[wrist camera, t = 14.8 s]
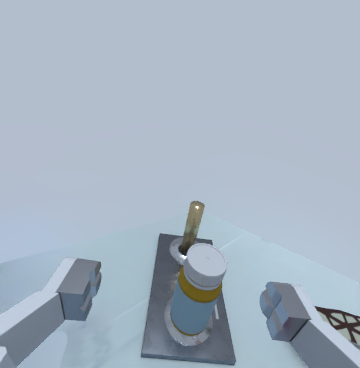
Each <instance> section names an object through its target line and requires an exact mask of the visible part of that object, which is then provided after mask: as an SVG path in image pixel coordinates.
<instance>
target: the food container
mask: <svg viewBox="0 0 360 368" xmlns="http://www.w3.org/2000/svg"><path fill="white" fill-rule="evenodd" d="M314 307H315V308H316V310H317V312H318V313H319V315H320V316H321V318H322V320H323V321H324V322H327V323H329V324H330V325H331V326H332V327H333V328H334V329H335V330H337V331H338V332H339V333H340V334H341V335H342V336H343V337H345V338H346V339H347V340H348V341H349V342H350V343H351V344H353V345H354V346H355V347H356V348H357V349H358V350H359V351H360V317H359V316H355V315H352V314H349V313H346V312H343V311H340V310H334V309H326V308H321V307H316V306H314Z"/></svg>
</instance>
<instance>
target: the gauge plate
mask: <svg viewBox="0 0 360 368" xmlns="http://www.w3.org/2000/svg"><path fill="white" fill-rule="evenodd" d="M203 210H204V204H203V203H201V202H199V201H193V202H191V204H190V209H189V213H188V218H187V222H186V226H185V231H184V235H183V236H176V235H169V234H161V233H160V235H159V242H158V249H157V255H156V262H155V269H154V275H153V282H152V288H151V295H150V302H149V308H148V315H147V322H146V328H145V335H144V341H143V348H142V355H141V357H149V358H160V359H171V360H183V361H194V362H205V363H217V364H228V365H234V364H235V362H236V359H235V354H234V349H233V344H232V339H231V334H230V329H229V324H228V319H227V314H226V309H225V304H224V299H223V294H222V289H221V292H220V295H219V297H218V300H217V302H216V305H215V307H214V309H213V312H212V314H211V317H210V319H209V321H208V324H207V326H206V328H205V329H204V331H203V332H202V333H200V334H199V335H196V336H187V335H184V334H182V333H180V332H179V331H178V330H177V329H176V328H175V327H174V325H173V323H172V321H171V317H170V309H171V304H172V300H173V296H174V292H175V288H176V283H177V279H178V275H179V272H180V270H181V268H182V266H183V265H184V263H185V259H186V255H187V252H188V250H189V248H190V247H191V246H193V245H195V244H198V243H205V244H210V245H212V246H213V244H212V240H206V239H199V238H196V237H197V233H198V229H199V225H200V222H201V218H202V214H203Z"/></svg>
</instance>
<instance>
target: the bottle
mask: <svg viewBox="0 0 360 368" xmlns="http://www.w3.org/2000/svg"><path fill="white" fill-rule="evenodd" d="M226 270H227V260H226V257H225V256H224V254H223V253H222V252H221V251H220V250H219V249H218V248H216V247H214V246H212V245H210V244H205V243H198V244H195V245H193V246H191V247H190V248H189V250H188V252H187V255H186V259H185V263H184V265H183V266H182V268H181V270H180V272H179V275H178V279H177V283H176V288H175V292H174V296H173V300H172V304H171V309H170V317H171V321H172V323H173V325H174V327H175V328H176V329H177V330H178V331H179V332H180V333H182V334H184V335H187V336H196V335H199V334H200V333H202V332H203V331H204V329H205V328H206V326H207V324H208V321H209V319H210V317H211V314H212V312H213V309H214V307H215V305H216V302H217V300H218V297H219V295H220V292H221V289H222V279H223V277H224V275H225V272H226Z"/></svg>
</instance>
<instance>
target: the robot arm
mask: <svg viewBox="0 0 360 368" xmlns="http://www.w3.org/2000/svg"><path fill="white" fill-rule="evenodd" d="M100 268H101V262H99V261H92V260H85V259H78V258H71V257H66V258H65V259H64V260H63V261H62V262H61V264H60V265H59V266H58V268H57V269H56V271H55V272H54V274H53V275H52V276H51V278H50V279H49V281H48V282H47V284H46V285H45V286H44V288H43V289H42V291H36V292H35V293H33V294H32V295H30V296H29V297H27V298H25V299H24V300H22V301H21V302H19V303H18V304H16V305H15V306H13V307H11V308H10V309H8V310H7V311H5V312H4V313H2V314H1V315H0V368H16V367H17V366H18V365H19V364H20V363H21V362H22V361H23V360H24V359H25V358H26V357H27V356H28V355H29V354H30V353H31V352H33V350H35V349H36V348H37V347H38V346H39V345H40V344H41V343H42V342H43V341H44V340H45V339H46V338H47V337H48V336H49V335H50V334H51V333H52V332H54V331H55V330H56V329H57V328H58V327H59V326H60V325H61V324H62V323H63V322H64V320H77V321H86V318H87V316H88V314H89V311H90V309H91V306H92V298H93V297H94V296H96V294H97V292H98V289H99V286H100V283H101V272H100V271H99V270H100ZM260 307H261V310H262V313H263V314H264V315H265V316H266V317H267V322H266V324H267V327H268V330H269V332H270V335H271V338H272V340H278V341H286V342H290V344H291V345H292V346H293V348H294V349H295V350H296V351H297V353H298V354H299V355H300V356H301V358H302V359H303V360H304V362H305V363H306V364H307V365H308V367H309V368H360V351H359V350H358V349H357V348H356V347H355V346H354V345H353V344H351V343H350V342H349V341H348V340H347V339H346V338H345V337H343V336H342V335H341V334H340V333H339V332H338V331H337V330H335V329H334V328H333V327H332V326H331V325H330V324H329V323H327V322H324V321H323V320H322V318H321V316H320V315H319V313H318V312H317V310H316V308H315V307H314V305H313V303H312V302H311V300H310V298H309V297H308V295H307V294H306V292H305V290H304V289H303V287H301V286H300V285H294V284H288V283H278V282H268V283H267V284H266V290H265V291H263V292H262V293H261V295H260Z"/></svg>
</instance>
